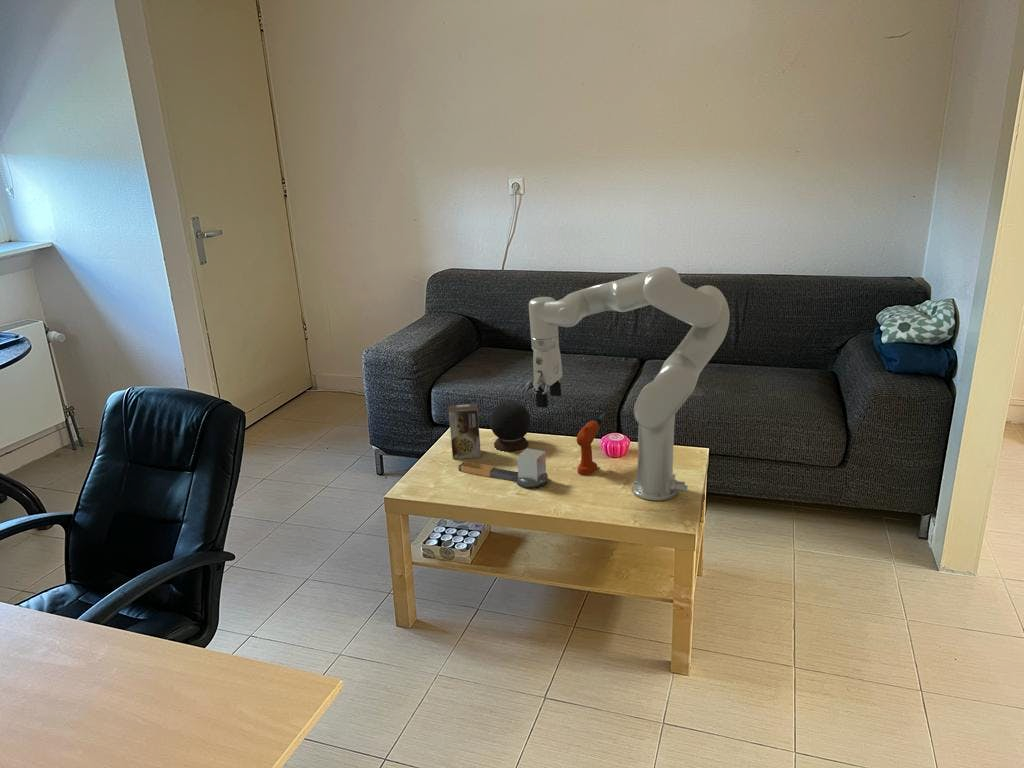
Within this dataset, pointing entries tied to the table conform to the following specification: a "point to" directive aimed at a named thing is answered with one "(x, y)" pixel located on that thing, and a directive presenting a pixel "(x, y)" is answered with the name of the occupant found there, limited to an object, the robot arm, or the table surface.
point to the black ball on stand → (510, 426)
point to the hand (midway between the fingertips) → (549, 401)
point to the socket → (531, 464)
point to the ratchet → (501, 474)
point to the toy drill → (588, 446)
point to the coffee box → (464, 431)
